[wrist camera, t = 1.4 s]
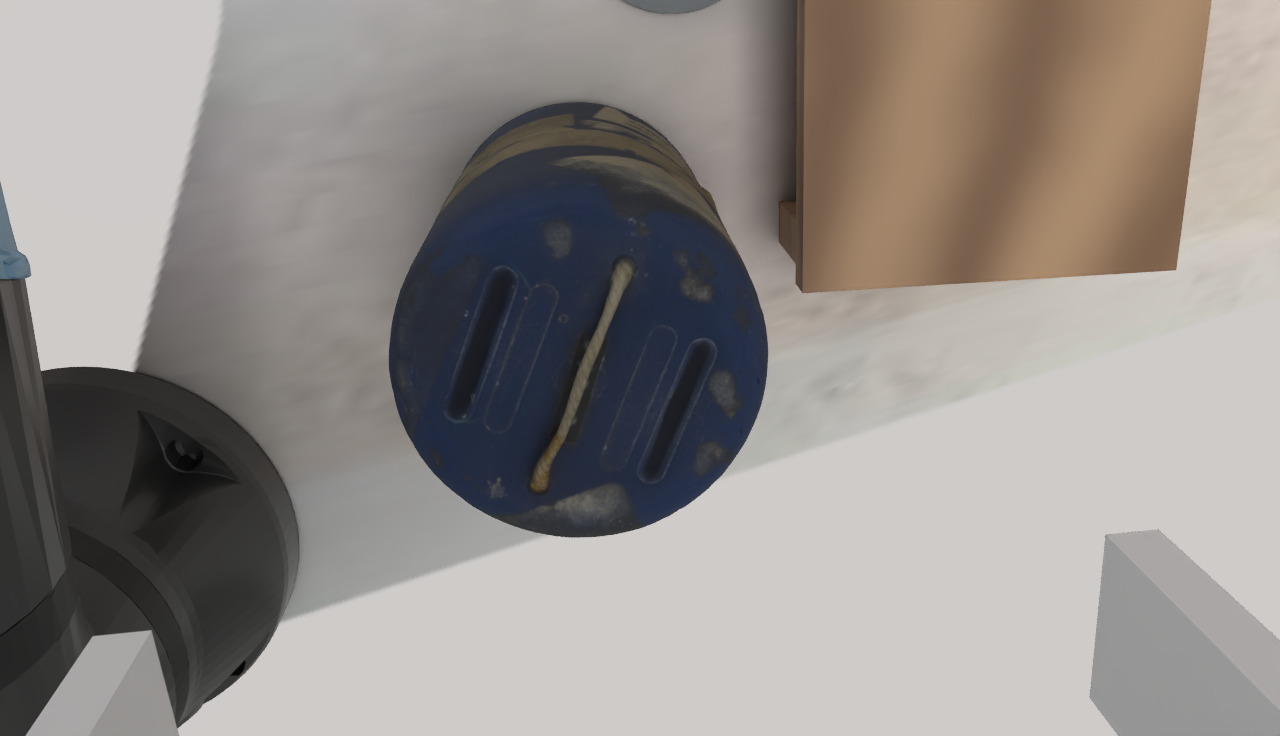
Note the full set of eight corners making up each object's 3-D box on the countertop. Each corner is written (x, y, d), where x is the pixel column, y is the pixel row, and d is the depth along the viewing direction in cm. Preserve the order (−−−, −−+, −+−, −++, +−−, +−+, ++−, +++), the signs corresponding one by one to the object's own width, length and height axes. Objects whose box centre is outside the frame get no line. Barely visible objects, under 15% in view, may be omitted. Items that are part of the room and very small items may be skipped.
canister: (750, 193, 42) (874, 345, 25) (608, 384, 44) (634, 642, 27) (542, 43, 39) (523, 98, 22) (404, 253, 42) (293, 446, 25)
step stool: (771, 250, 42) (802, 292, 37) (770, -112, 38) (805, -127, 32) (1096, 230, 43) (1176, 269, 37) (1133, -129, 38) (1230, -145, 33)
